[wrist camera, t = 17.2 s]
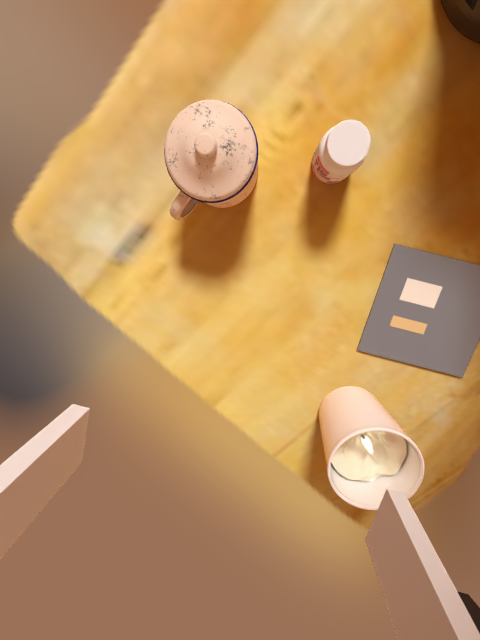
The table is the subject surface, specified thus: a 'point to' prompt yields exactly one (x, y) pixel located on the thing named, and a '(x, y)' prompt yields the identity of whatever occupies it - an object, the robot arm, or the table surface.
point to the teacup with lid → (210, 156)
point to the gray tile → (425, 312)
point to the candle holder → (366, 449)
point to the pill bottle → (341, 151)
